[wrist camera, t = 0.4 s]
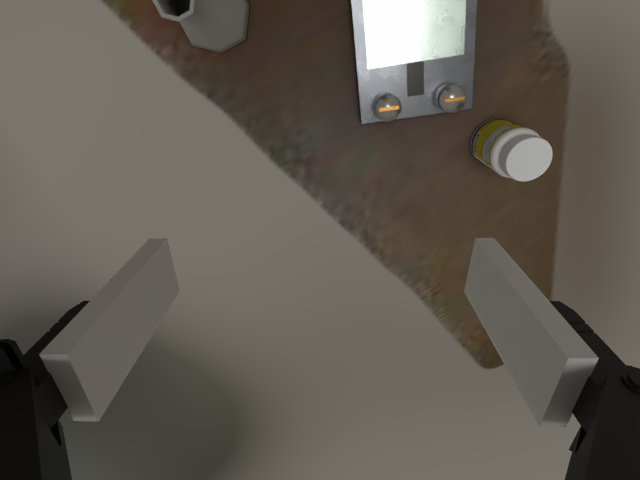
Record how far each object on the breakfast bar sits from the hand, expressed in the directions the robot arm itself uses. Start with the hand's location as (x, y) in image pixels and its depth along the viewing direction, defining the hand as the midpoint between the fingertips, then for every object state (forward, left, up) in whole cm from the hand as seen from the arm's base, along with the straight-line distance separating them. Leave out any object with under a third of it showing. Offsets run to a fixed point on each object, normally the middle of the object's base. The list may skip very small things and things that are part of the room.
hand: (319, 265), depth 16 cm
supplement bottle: (+3, +18, -27) cm, 33 cm away
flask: (-13, -9, -27) cm, 32 cm away
